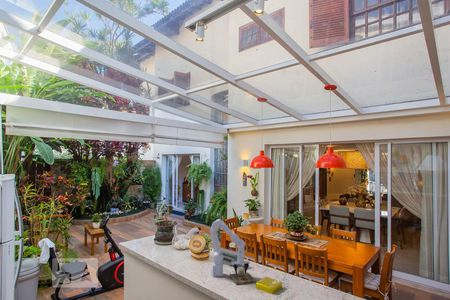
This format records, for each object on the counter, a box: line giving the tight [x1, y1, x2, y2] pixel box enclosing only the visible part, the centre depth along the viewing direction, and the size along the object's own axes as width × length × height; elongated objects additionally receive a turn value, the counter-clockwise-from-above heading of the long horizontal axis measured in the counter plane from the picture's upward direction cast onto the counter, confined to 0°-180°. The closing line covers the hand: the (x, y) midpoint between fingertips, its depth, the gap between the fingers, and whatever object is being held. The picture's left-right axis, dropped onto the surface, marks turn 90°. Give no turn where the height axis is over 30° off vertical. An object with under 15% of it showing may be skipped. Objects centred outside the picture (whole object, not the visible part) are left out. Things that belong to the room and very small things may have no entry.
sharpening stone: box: [220, 247, 237, 267], centre depth 247 cm, size 25×8×11 cm, turn 48°
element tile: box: [255, 276, 283, 295], centre depth 198 cm, size 15×15×5 cm
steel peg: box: [237, 266, 244, 277], centre depth 216 cm, size 4×4×7 cm
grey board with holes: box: [229, 271, 257, 286], centre depth 212 cm, size 16×17×2 cm
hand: (240, 273), depth 216 cm, fingers open, 7 cm apart
